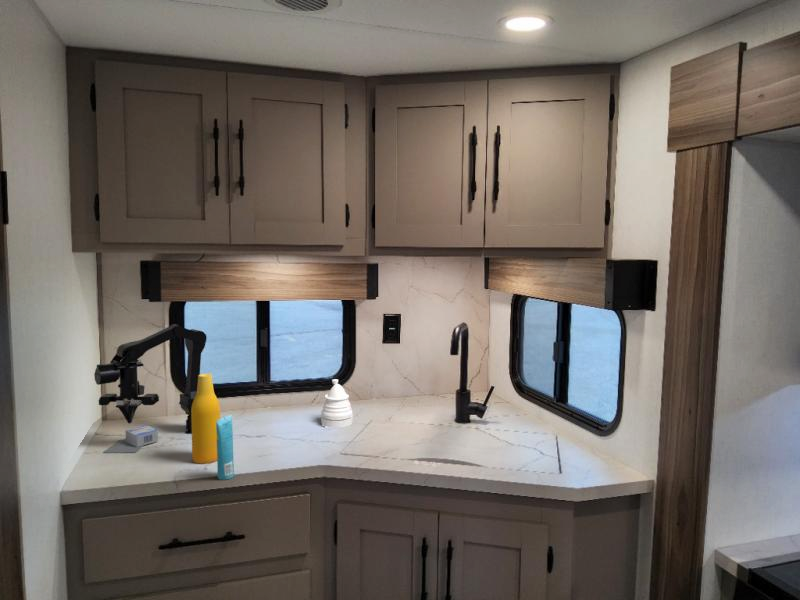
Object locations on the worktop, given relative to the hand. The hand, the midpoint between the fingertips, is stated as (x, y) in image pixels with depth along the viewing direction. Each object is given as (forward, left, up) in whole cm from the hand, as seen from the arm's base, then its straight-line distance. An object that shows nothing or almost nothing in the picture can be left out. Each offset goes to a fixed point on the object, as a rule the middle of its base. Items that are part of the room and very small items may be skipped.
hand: (129, 422), depth 198 cm
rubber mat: (+1, 0, -9) cm, 9 cm away
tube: (-40, +27, -9) cm, 49 cm away
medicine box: (-6, -1, -6) cm, 9 cm away
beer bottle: (-30, +12, -9) cm, 34 cm away
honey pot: (-72, -25, -9) cm, 77 cm away
